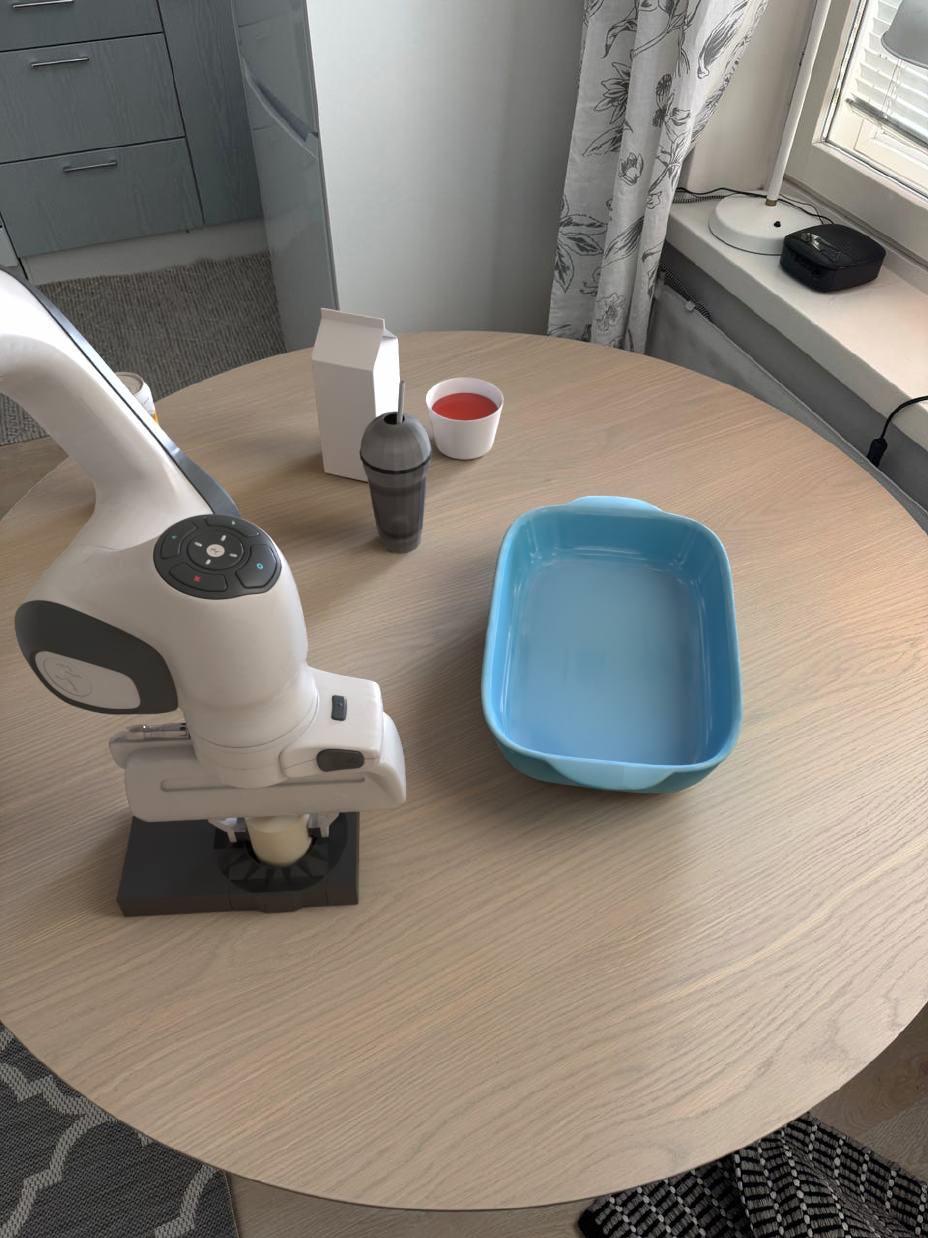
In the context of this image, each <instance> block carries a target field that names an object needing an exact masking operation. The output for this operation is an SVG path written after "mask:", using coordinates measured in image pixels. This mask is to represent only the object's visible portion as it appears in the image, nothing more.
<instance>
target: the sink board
mask: <svg viewBox="0 0 928 1238" xmlns="http://www.w3.org/2000/svg"><path fill="white" fill-rule="evenodd" d="M360 815H361V811H358V812H339V816H338V817H337V818H336V819H335V820H334V821H333V822H332V823H331V824H330V825H329V836H328V837H317V838H316V839H315V841H314V845H313V848H312V850H311V852H310V853H309V854H307V855H306V856H305V857H304V858H303V859H302V860H301V861H299V862H297V863H294V864H292V865H289V866H287V867H275V868H271V867H268V866H265V865H262V864H261V863H260V862H258V861H256V859H254V858H253V857H252V856H251V848H252V843H251V840H250V841H239V842H230V839H229V836H228V833H227V832H225V831H223V830H221V829H220V828H218V827H216V826H215V825H213V824H211V823H209V822H208V819H202V820H182V821H163V822H146V821H143V820H141V819H139V818H137V817H136V816H134V815H133V814H132V821H131V825H130V826H131V827H130V831H129V835H128V840H127V846H126V850H125V855H124V859H123V865H122V870H121V875H120V880H119V886H118V891H117V896H116V903H117V905H118V908H119V909H120V911H121V914H122V915H123V917H124V918H128V917H129V918H130V917H145V916H161V915H162V916H164V915H165V916H166V915H182V914H183V915H184V914H202V913H218V912H222V913H223V912H240V911H243V912H244V911H260V912H263V913H266V914H271V913H290V912H297V911H298V910H301V909H303V908H311V907H312V908H313V907H314V908H317V907H328V906H329V907H334V906H348V905H349V906H351V905H359V901H360V900H359V899H360V898H359V897H360V894H359V893H360V891H359V890H360V829H361V827H360V825H361V824H360V822H361V821H360V818H361V817H360Z"/></svg>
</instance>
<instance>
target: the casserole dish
mask: <svg viewBox="0 0 928 1238" xmlns="http://www.w3.org/2000/svg"><path fill="white" fill-rule="evenodd" d="M734 593H735V592H734V585H733V577H732V570H731V565H730V560H729V556H728V553H727V551H726V548H725V546H724V545H723V542H722V541H721V539H720V538H719V537H718V536H717V534H716V533H715V532H714V531H713V530H711V529H710V528H709V527H707V526H706V525H705V524H703V523H701V521H700V522H699V521H697V520H695V519H693V518H690V517H687V516H683V515H680V514H676V513H672V512H667V511H664V510H662V509H660V508H658V507H657V506H654V505H652V504H651V503H648V502H646V501H644V500H641V499H636V498H631V497H626V496H625V497H624V496H616V495H615V496H614V495H587V496H586V495H585V496H581V497H578V498H576V499H573V500H571V501H569V502H567V503H563V504H554V505H553V504H552V505H551V504H550V505H544V506H539V507H538V506H537V507H536V508H533V509H529V510H527V511H525V512H524V513H522V514H520V515H519V516H518V517H516V518H515V519H514V520H513V521H512V522H511V524H510V525H509V526H508V528H507V529H506V531H505V533H504V535H503V537H502V540H501V543H500V546H499V550H498V554H497V558H496V562H495V569H494V574H493V582H492V588H491V594H490V595H491V596H490V604H489V611H488V617H487V623H486V632H485V641H484V647H483V648H484V650H483V655H482V656H483V657H482V664H481V665H482V666H481V678H480V680H481V681H480V699H481V701H480V702H481V708H482V713H483V717H484V720H485V723H486V726H487V727H488V729H489V731H490V733H491V734H492V736H493V738H494V739H493V740H495V743H496V745H497V747H498V748H499V751H500V752H501V754H502V755H503V757H504V758H505V760H507V762H508V763H509V764H510V765H511V766H512V767H513V768H514V769H516V770H517V771H518V772H519V773H521V774H523V775H525V776H527V777H529V778H531V779H535V780H537V781H541V782H544V783H552V784H558V785H563V786H564V785H565V786H572V787H579V788H587V789H594V790H599V791H607V792H608V791H610V792H623V793H635V794H669V793H675V792H676V793H677V792H679V791H683V790H685V789H688V788H690V787H693V786H695V785H697V784H699V783H700V782H702V781H703V780H704V779H706V778H707V777H708V776H709V775H710V774H711V773H712V772H713V771H714V770H716V768H718V766H719V765H721V764H722V763H723V762H724V761H725V760H726V759H727V758H728V757H729V756H730V755H731V754H732V752H733V750H734V749H735V746H736V745H737V743H738V740H739V737H740V735H741V730H742V725H743V713H744V712H743V711H744V700H743V699H744V698H743V697H744V696H743V695H744V694H743V681H742V680H743V679H742V678H743V677H742V666H741V658H740V646H739V636H738V625H737V614H736V603H735V594H734Z"/></svg>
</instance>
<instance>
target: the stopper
mask: <svg viewBox="0 0 928 1238" xmlns="http://www.w3.org/2000/svg"><path fill="white" fill-rule="evenodd" d="M244 818H245V822H246V825H247V829H248V833H249V836H250V840H251V843H252V846H251V848H252V851H253V854H254V857H255V858H256V859H255V860H257V862H258V863H259V864H262V865H265V866H268V867H271V868H275V867H287V866H289V865H292V864H294V863H297V862H299V861H301V860H302V859H303V858H304V857H305V856H306V855H307V854H309V853H310V852H311V850H312V848H313V846H314V844H315V840H314V839H315V838H310V837H309V832H308V820H309V814H299V815H280V816H260V817H244Z"/></svg>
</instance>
